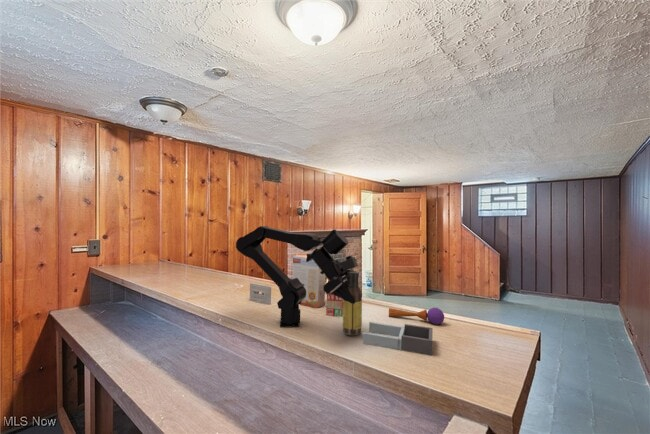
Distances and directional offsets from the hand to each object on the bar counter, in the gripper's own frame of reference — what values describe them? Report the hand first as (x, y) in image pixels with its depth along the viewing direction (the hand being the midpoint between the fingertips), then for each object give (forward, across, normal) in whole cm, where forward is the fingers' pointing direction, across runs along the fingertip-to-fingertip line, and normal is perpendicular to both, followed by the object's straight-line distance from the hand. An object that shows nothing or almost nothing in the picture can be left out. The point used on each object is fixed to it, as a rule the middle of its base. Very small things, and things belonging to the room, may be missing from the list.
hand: (357, 300), depth 97 cm
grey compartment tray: (+17, 0, -2) cm, 17 cm away
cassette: (-25, +18, +42) cm, 53 cm away
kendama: (+20, +23, -4) cm, 31 cm away
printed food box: (-2, +25, +18) cm, 31 cm away
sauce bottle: (+7, 0, +9) cm, 11 cm away
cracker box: (-11, +25, +28) cm, 39 cm away
